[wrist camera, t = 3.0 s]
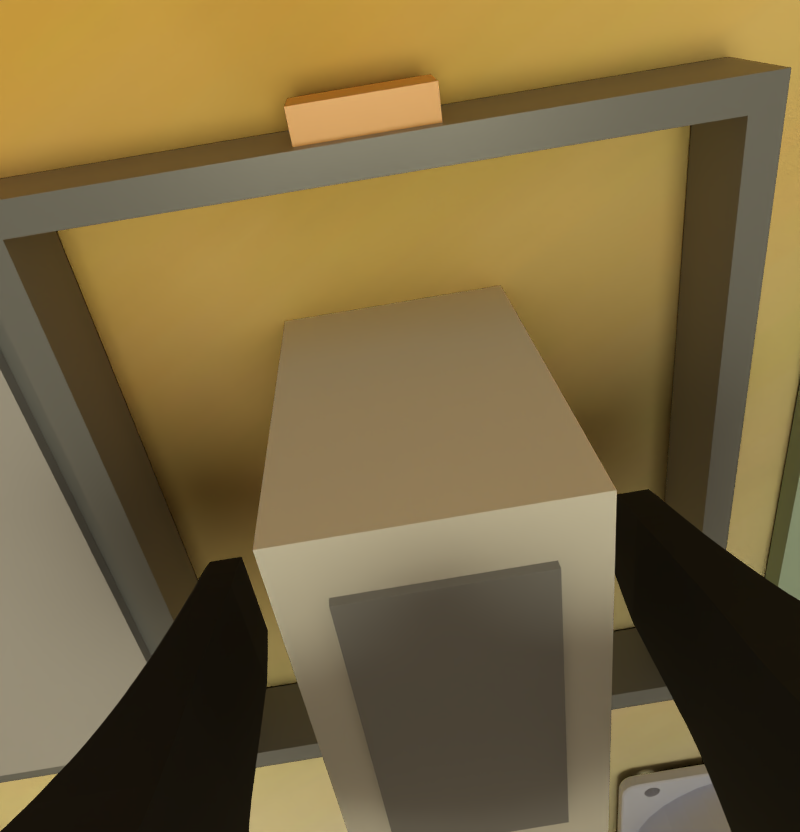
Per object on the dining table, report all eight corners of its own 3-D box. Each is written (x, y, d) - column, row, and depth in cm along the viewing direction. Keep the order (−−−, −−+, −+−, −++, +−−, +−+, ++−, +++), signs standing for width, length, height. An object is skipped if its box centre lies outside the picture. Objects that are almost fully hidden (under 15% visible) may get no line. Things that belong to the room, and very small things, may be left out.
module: (500, 284, 15) (620, 497, 8) (520, 566, 19) (610, 845, 13) (285, 320, 15) (251, 558, 8) (353, 594, 19) (363, 886, 13)
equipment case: (732, 18, 12) (797, 24, 11) (675, 635, 21) (706, 694, 19) (-579, 237, 12) (-724, 278, 11) (-110, 763, 21) (-150, 834, 19)
